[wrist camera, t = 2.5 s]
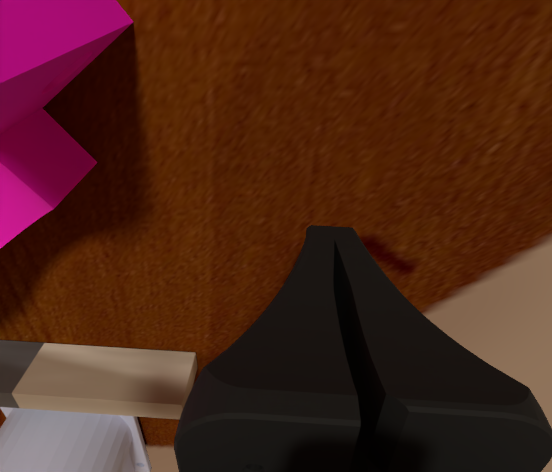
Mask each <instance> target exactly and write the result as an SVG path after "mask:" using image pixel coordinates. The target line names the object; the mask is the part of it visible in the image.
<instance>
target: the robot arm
mask: <svg viewBox="0 0 552 472" xmlns="http://www.w3.org/2000/svg"><path fill="white" fill-rule="evenodd" d="M0 408H1V410H2V411H3V413H4V415H5V416H6V418H7V419H6V420H5V422H4V423H3V425H2V427H1V428H0V472H151V468H152V467H151V464H150V461H149V457H148V454H147V450H146V447H145V443H144V440H143V436H142V433H141V429H140V426H139V423H138V419H137V416H124V415H109V414H95V413H81V412H66V411H52V410H37V409H23V408H8V407H0ZM174 450H175V455H176V459H177V464H178V469H179V472H541V471H542V470H543V468H544V467H545V466H546V465H547V463H548V462H549V461H550V459H551V457H552V429H551V426H550V425H549V423H548V420H547V418H546V417H545V414H544V412H543V411H542V409H541V407H540V405H539V404H538V402H537V400H536V399H535V397H534V395H533V394H532V393H531V390H530V389H529V388H528V387H527V386H525V385H523V384H522V383H520V382H518V381H516V380H515V379H513V378H511V377H509V376H508V375H506V374H505V373H503V372H501V371H499V370H498V369H496V368H494V367H493V366H491V365H489V364H488V363H486V362H485V361H483V360H482V359H480V358H478V357H477V356H476V355H474V354H473V353H471V352H470V351H468V350H467V349H465V348H464V347H463V346H461V345H460V344H459V343H457V342H456V341H454V340H453V339H452V338H450V337H449V336H448V335H447V334H445V333H444V332H443V331H442V330H440V329H439V328H438V327H437V326H435V325H434V324H433V323H432V322H430V321H429V320H428V319H427V318H426V317H425V316H424V315H423V314H422V313H421V312H419V311H418V310H417V309H416V308H415V307H414V306H413V305H412V304H411V303H410V302H409V301H408V300H407V299H406V298H405V297H404V296H403V295H402V294H401V293H400V291H399V290H398V289H397V288H396V287H395V286H394V284H393V283H392V282H391V281H390V280H389V279H388V277H387V276H386V275H385V274H384V272H383V271H382V270H381V268H380V267H379V266H378V264H377V263H376V262H375V260H374V259H373V258H372V256H371V255H370V253H369V252H368V250H367V249H366V247H365V246H364V244H363V243H362V241H361V240H360V238H359V237H358V235H357V233H356V232H355V230H354V229H353V228H349V227H331V226H313V225H311V226H309V227H308V228H307V231H306V238H305V242H304V245H303V248H302V250H301V253H300V255H299V257H298V259H297V261H296V264H295V266H294V268H293V269H292V271H291V273H290V275H289V276H288V278H287V280H286V281H285V283H284V285H283V286H282V288H281V289H280V291H279V292H278V294H277V295H276V297H275V298H274V299H273V301H272V302H271V303H270V305H269V306H268V307H267V308H266V310H265V311H264V312H263V313H262V314H261V316H260V317H259V318H258V319H257V320H256V321H255V323H254V324H253V325H252V326H251V327H250V328H249V329H248V330H247V331H246V332H245V333H244V334H243V335H242V336H241V337H239V338H238V339H237V340H236V341H235V342H234V343H233V344H232V345H231V346H230V347H229V348H228V349H226V350H225V351H224V352H223V353H221V354H220V355H219V356H218V357H216V358H215V359H214V360H213V361H211V362H210V363H209V364H208V365H206V366H205V367H204V368H203V369H202V371H201V373H200V375H199V376H198V378H197V380H196V382H195V384H194V386H193V388H192V390H191V392H190V394H189V396H188V398H187V401H186V403H185V406H184V408H183V411H182V413H181V417H180V420H179V424H178V428H177V432H176V436H175V441H174Z"/></svg>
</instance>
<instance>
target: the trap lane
mask: <svg viewBox="0 0 552 472" xmlns="http://www.w3.org/2000/svg"><path fill="white" fill-rule="evenodd" d="M196 371H197V359H196V353H193V352H178V351H162V350H147V349H131V348H115V347H100V346H84V345H69V344H53V343H38V342H22V341H7V340H0V407H8V408H23V409H37V410H52V411H66V412H81V413H95V414H109V415H124V416H138V417H153V418H167V419H180V417H181V413H182V411H183V408H184V406H185V403H186V401H187V398H188V396H189V394H190V392H191V390H192V387H193V383H194V379H195V375H196Z"/></svg>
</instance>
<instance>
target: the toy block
mask: <svg viewBox="0 0 552 472" xmlns="http://www.w3.org/2000/svg"><path fill="white" fill-rule="evenodd" d="M132 23H133V21H132V19H131V18H130V17H129V16H128V15H127V13H126V12H125V11H124V10H123V8H122V7H121V6H120V5H119V3H118V2H117V1H116V0H0V248H2V247H3V246H4V245H5V244H7V243H8V242H9V241H10V240H11V239H13V238H14V237H15V236H17V235H18V234H19V233H20V232H22V231H23V230H24V229H26V228H27V227H28V226H29V225H31V224H32V223H34V222H35V221H36V220H38V219H39V218H40V217H42V216H43V215H45V214H46V213H48V212H50V211H51V210H53V209H54V208H55V207H56V206H57V205H58V204H59V203H60V202H61V201H62V200H63V199H64V198H65V197H66V196H67V194H68V193H69V192H70V191H71V190H72V189H73V188H74V187H75V186H76V185H77V184H78V183H79V182H80V181H81V180H82V179H83V178H84V176H85V175H86V174H87V173H88V172H89V171H90V170H91V169H92V168H93V167H94V166H95V165H96V164H97V163H98V162H97V161H96V160H95V159H94V158H93V157H92V156H91V155H90V154H89V153H88V152H87V151H86V150H84V149H83V148H82V147H81V146H80V145H79V144H78V143H77V142H76V141H75V140H74V139H73V138H72V137H71V136H70V135H69V134H68V133H67V132H66V131H65V130H64V129H63V128H62V127H61V126H60V125H59V124H58V123H57V122H56V121H55V120H54V119H53V118H52V117H51V116H50V115H49V114H48V113H47V112H46V111H45V110H44V109H43V107H44V106H45V105H46V104H47V103H48V102H49V101H50V100H51V99H53V98H54V97H55V96H56V95H57V94H58V93H59V92H60V91H61V90H62V89H63V88H64V87H65V86H66V85H67V84H68V83H69V82H71V81H72V80H73V79H74V78H75V77H76V76H77V75H78V74H79V73H80V72H81V71H82V70H83V69H84V68H85V67H86V66H87V65H89V64H90V63H91V62H92V61H93V60H94V59H95V58H96V57H97V56H98V55H99V54H100V53H101V52H102V51H103V50H104V49H105V48H107V47H108V46H109V45H110V44H111V43H112V42H113V41H114V40H115V39H116V38H117V37H118V36H119V35H120V34H121V33H122V32H123V31H125V30H126V29H127V28H128V27H129V26H130V25H131V24H132Z"/></svg>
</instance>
